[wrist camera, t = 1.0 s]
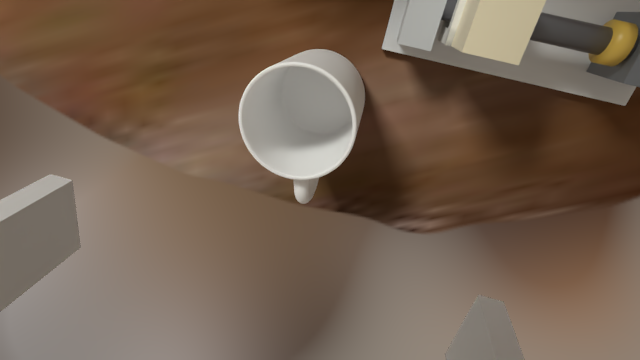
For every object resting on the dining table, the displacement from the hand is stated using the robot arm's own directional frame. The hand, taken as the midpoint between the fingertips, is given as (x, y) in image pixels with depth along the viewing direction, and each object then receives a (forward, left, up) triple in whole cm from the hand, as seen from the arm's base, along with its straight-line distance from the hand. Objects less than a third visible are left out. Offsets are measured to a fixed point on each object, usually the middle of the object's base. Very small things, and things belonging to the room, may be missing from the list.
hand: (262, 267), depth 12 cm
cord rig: (-9, +12, -25) cm, 29 cm away
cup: (+2, -2, -25) cm, 25 cm away
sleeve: (-9, +8, -23) cm, 26 cm away
